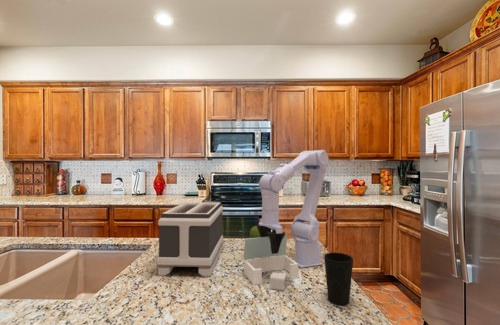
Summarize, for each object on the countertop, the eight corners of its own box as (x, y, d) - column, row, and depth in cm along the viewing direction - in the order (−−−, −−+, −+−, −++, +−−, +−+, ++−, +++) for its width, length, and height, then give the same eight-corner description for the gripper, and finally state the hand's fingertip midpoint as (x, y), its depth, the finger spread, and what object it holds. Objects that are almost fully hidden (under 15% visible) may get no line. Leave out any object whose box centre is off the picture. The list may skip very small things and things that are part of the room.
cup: (350, 310, 67) (350, 264, 67) (320, 302, 71) (320, 258, 71) (355, 298, 73) (355, 255, 74) (328, 291, 77) (328, 250, 78)
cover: (285, 254, 95) (284, 253, 96) (287, 235, 94) (286, 234, 95) (244, 259, 90) (243, 258, 90) (245, 239, 88) (244, 238, 89)
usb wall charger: (273, 283, 82) (273, 271, 82) (295, 287, 80) (295, 274, 80) (270, 289, 78) (270, 276, 78) (293, 293, 76) (293, 279, 76)
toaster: (224, 246, 121) (224, 200, 121) (210, 278, 86) (211, 214, 87) (185, 245, 121) (185, 200, 122) (156, 276, 87) (156, 214, 87)
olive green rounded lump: (258, 246, 120) (258, 221, 120) (272, 250, 114) (273, 224, 114) (245, 251, 113) (245, 224, 114) (259, 255, 108) (259, 227, 108)
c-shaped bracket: (285, 267, 95) (285, 255, 95) (298, 277, 87) (298, 263, 87) (244, 273, 90) (244, 260, 90) (253, 285, 81) (253, 270, 81)
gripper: (252, 206, 94) (251, 244, 94) (268, 214, 80) (267, 258, 80) (269, 205, 96) (269, 242, 96) (288, 212, 83) (288, 255, 83)
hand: (269, 249), depth 88 cm, fingers open, 7 cm apart
